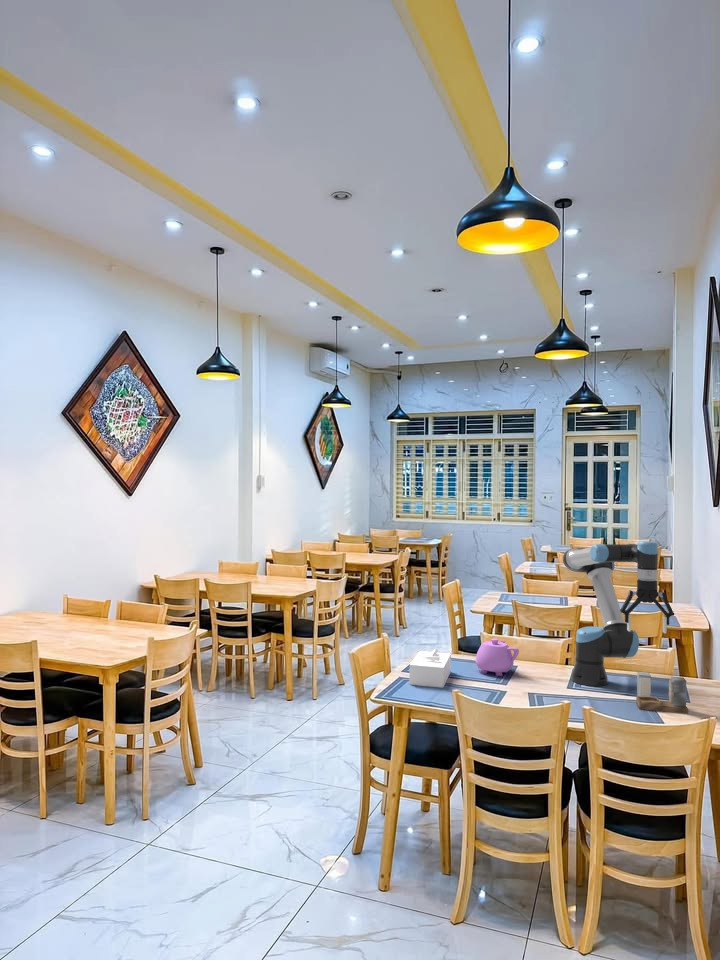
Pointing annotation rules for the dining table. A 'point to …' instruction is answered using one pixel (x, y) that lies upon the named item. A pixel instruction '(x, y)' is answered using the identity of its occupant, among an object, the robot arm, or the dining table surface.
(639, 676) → the light grey block
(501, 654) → the teapot
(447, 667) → the tissue box
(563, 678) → the dining table surface
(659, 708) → the wooden condiment holder
